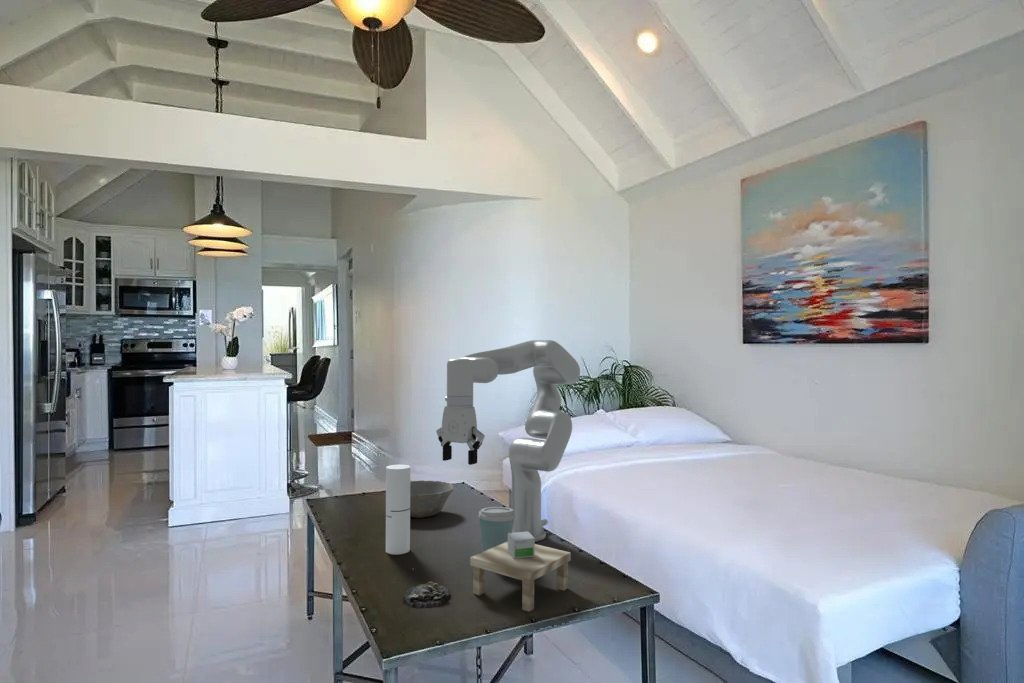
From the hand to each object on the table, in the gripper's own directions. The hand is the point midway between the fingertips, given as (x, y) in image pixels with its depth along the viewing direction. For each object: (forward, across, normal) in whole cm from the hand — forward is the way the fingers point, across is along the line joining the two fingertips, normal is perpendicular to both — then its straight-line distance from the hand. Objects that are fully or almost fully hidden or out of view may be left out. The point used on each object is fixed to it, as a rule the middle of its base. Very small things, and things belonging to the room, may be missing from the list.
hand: (459, 461), depth 172 cm
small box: (+20, +26, -6) cm, 33 cm away
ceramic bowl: (+29, -43, +28) cm, 59 cm away
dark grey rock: (+29, +10, -23) cm, 38 cm away
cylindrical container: (+28, -21, -4) cm, 36 cm away
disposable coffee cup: (+28, +8, +7) cm, 30 cm away
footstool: (+28, +26, -6) cm, 39 cm away
